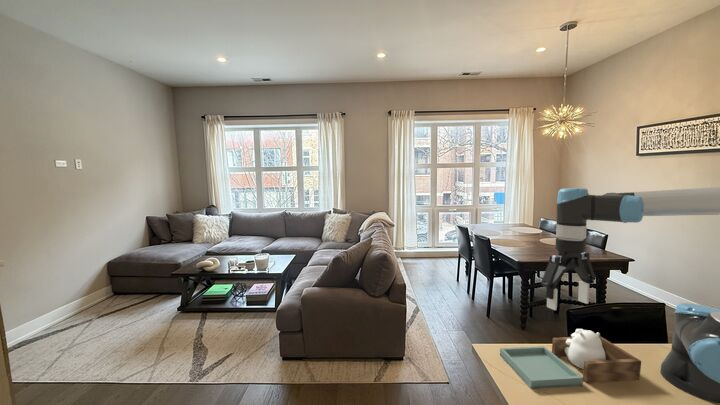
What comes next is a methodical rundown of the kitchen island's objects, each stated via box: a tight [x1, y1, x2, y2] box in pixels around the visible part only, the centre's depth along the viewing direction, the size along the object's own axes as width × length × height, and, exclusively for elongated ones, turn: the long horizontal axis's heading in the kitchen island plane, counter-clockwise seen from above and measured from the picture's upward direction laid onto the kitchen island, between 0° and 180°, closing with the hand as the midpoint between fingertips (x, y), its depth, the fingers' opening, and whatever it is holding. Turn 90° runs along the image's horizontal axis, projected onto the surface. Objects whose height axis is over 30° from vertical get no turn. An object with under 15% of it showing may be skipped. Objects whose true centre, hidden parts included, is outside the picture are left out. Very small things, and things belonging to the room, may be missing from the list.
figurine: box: [565, 328, 606, 370], centre depth 92 cm, size 10×10×12 cm
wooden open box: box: [551, 335, 642, 384], centre depth 92 cm, size 17×14×6 cm
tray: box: [499, 345, 584, 390], centre depth 91 cm, size 16×16×2 cm
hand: (567, 305), depth 91 cm, fingers open, 13 cm apart
